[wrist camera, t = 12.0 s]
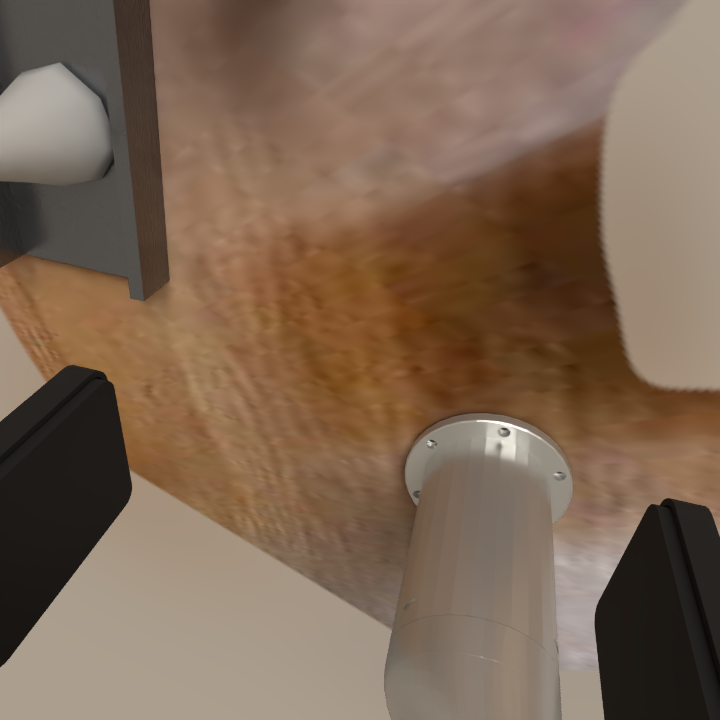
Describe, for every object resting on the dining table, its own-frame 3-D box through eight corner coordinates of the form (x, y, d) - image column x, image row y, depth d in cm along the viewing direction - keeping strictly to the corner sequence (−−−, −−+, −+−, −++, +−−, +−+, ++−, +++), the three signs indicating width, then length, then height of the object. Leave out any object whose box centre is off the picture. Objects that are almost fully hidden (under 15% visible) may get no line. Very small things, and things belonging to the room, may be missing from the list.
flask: (141, 152, 37) (32, 202, 29) (69, 202, 40) (-47, 260, 32) (61, 38, 34) (-83, 58, 26) (-8, 101, 37) (-156, 137, 29)
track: (169, 279, 43) (144, 301, 40) (22, 246, 44) (-13, 264, 42) (144, -53, 32) (107, -55, 29) (-52, -83, 33) (-107, -88, 30)
